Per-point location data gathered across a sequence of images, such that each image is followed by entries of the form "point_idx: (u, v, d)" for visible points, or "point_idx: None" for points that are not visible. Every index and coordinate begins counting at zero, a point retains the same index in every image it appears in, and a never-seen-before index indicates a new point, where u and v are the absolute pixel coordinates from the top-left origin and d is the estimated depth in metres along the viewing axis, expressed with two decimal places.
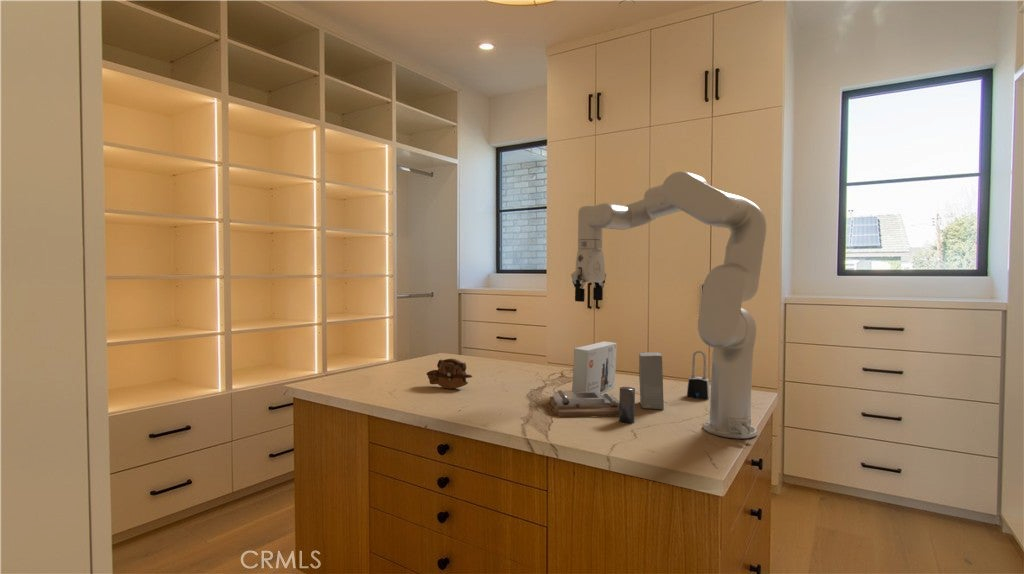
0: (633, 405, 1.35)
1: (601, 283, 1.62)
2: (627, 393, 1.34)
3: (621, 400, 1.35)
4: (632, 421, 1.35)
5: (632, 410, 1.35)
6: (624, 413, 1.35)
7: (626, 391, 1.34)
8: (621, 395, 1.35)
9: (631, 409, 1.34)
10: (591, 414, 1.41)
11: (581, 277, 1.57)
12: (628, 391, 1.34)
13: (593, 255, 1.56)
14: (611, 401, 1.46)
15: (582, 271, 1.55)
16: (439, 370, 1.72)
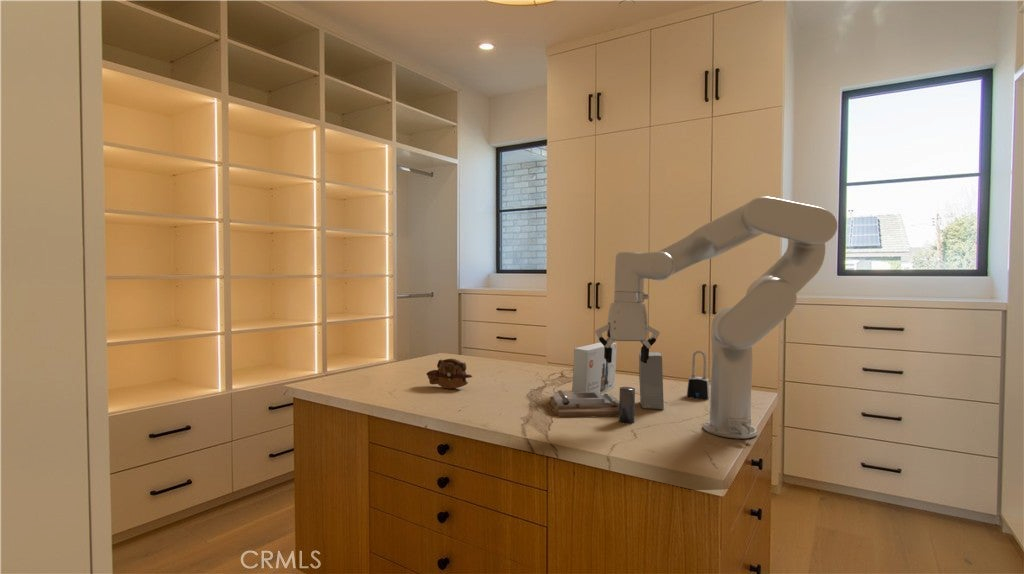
0: (633, 405, 1.35)
1: None
2: (627, 393, 1.34)
3: (621, 400, 1.35)
4: (632, 421, 1.35)
5: (632, 410, 1.35)
6: (624, 413, 1.35)
7: (626, 391, 1.34)
8: (621, 395, 1.35)
9: (631, 409, 1.34)
10: (591, 414, 1.41)
11: None
12: (628, 391, 1.34)
13: None
14: (611, 401, 1.46)
15: None
16: (439, 370, 1.72)
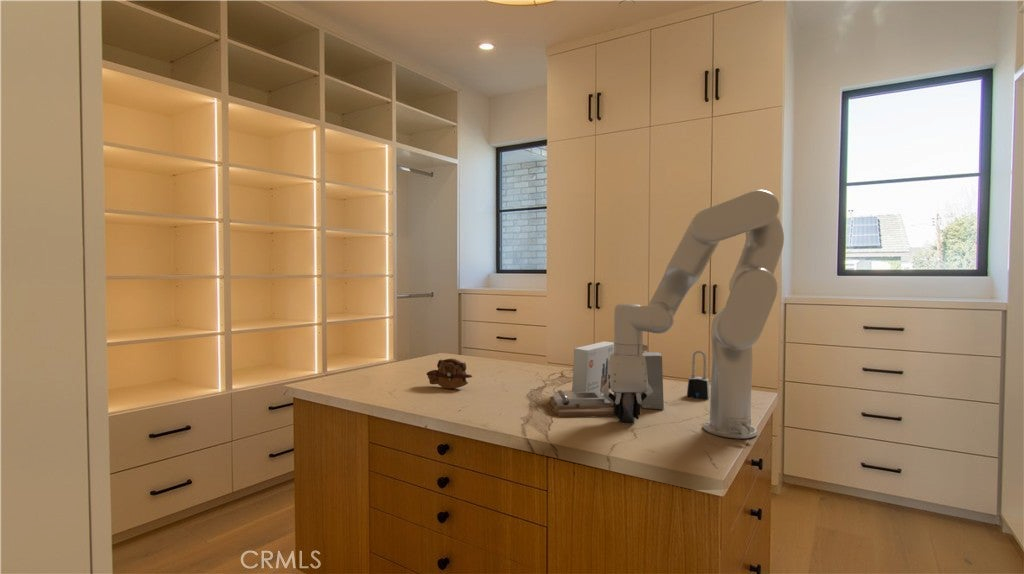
0: (633, 405, 1.35)
1: None
2: (627, 393, 1.34)
3: (621, 400, 1.35)
4: (632, 421, 1.35)
5: (632, 410, 1.35)
6: (624, 413, 1.35)
7: None
8: (621, 395, 1.35)
9: (631, 409, 1.34)
10: (591, 414, 1.41)
11: None
12: None
13: None
14: (611, 401, 1.46)
15: None
16: (439, 370, 1.72)
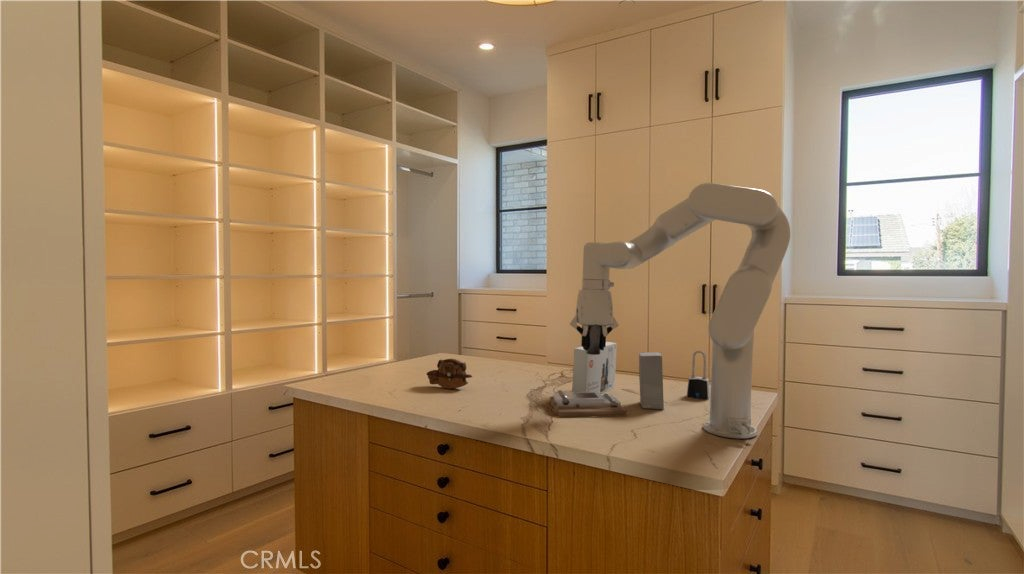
0: (599, 337, 1.44)
1: None
2: (593, 326, 1.43)
3: (588, 332, 1.44)
4: (598, 352, 1.44)
5: (598, 342, 1.44)
6: (591, 344, 1.44)
7: None
8: (588, 328, 1.44)
9: (597, 341, 1.44)
10: (591, 414, 1.41)
11: None
12: (595, 324, 1.43)
13: None
14: (611, 401, 1.46)
15: None
16: (439, 370, 1.72)
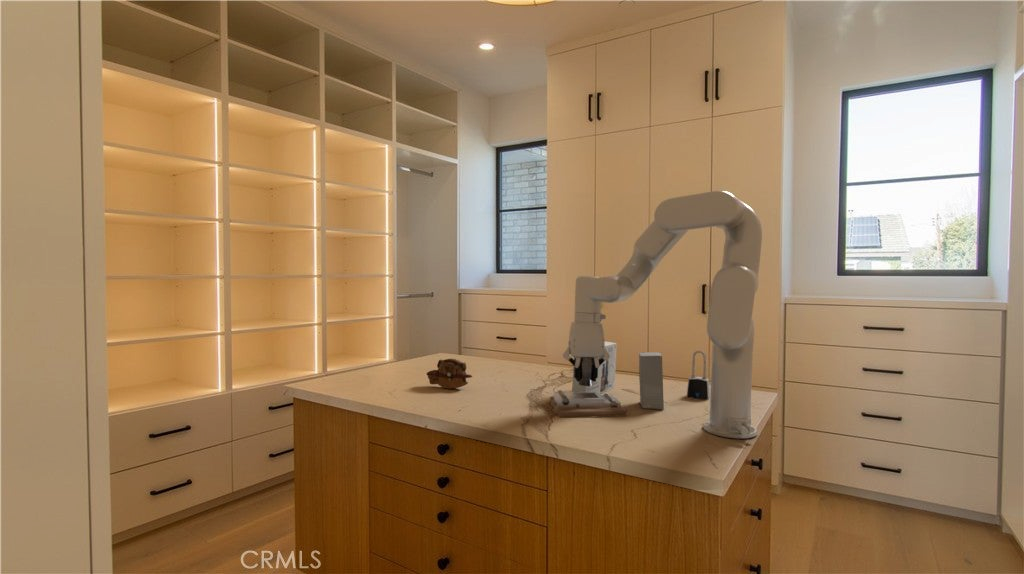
0: (591, 369, 1.47)
1: None
2: (585, 358, 1.46)
3: (580, 364, 1.47)
4: (590, 383, 1.47)
5: (590, 373, 1.47)
6: (583, 375, 1.47)
7: None
8: (580, 359, 1.47)
9: (589, 372, 1.47)
10: (591, 414, 1.41)
11: None
12: None
13: None
14: (611, 401, 1.46)
15: None
16: (439, 370, 1.72)
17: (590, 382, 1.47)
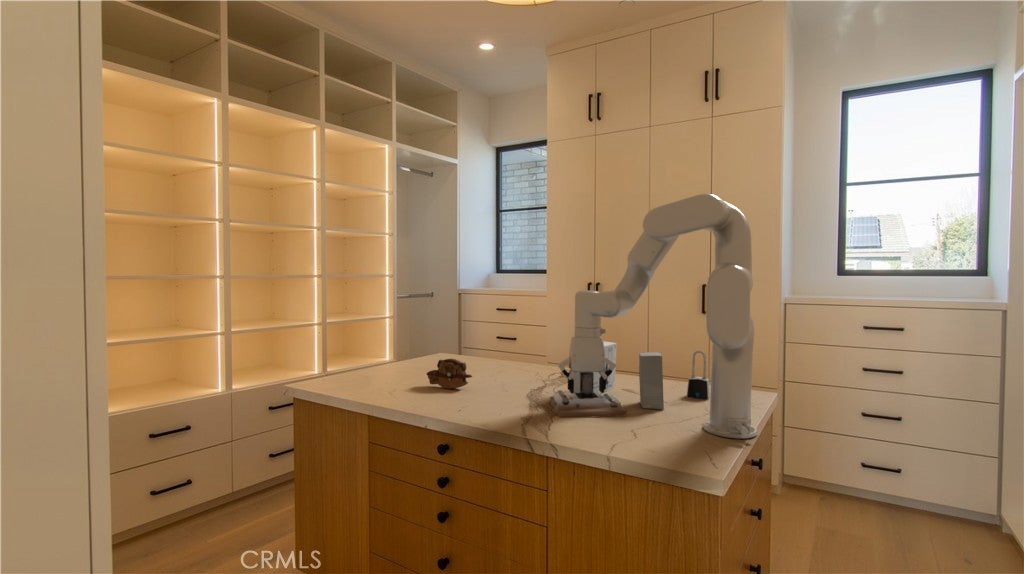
0: (591, 388, 1.47)
1: None
2: (586, 377, 1.46)
3: (581, 383, 1.47)
4: None
5: (591, 392, 1.47)
6: (583, 395, 1.47)
7: (585, 375, 1.46)
8: (581, 379, 1.47)
9: (590, 391, 1.47)
10: (591, 414, 1.41)
11: None
12: (587, 375, 1.46)
13: None
14: (611, 401, 1.46)
15: None
16: (439, 370, 1.72)
17: None
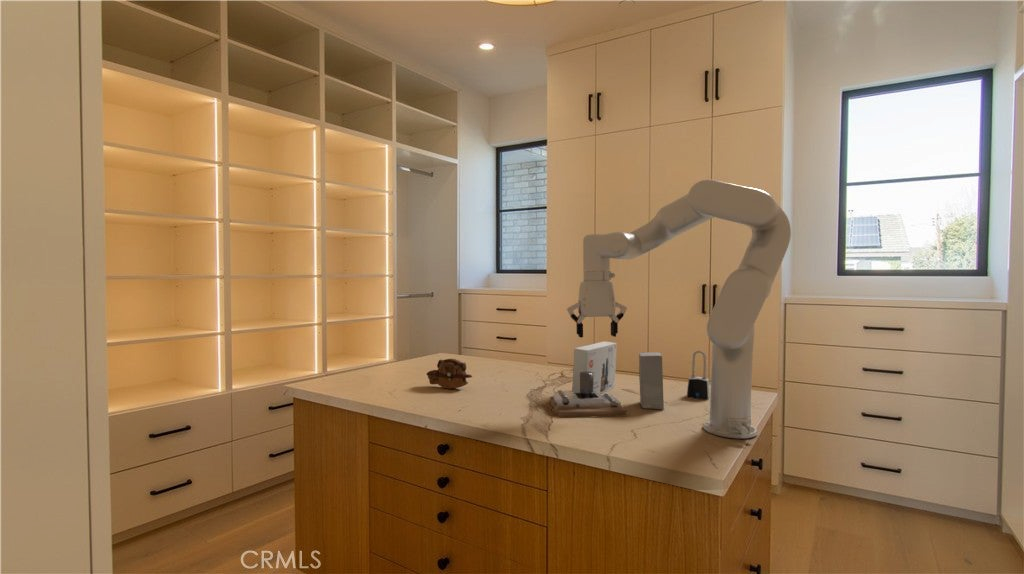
0: (591, 388, 1.47)
1: None
2: (586, 377, 1.46)
3: (581, 383, 1.47)
4: None
5: (591, 392, 1.47)
6: (583, 395, 1.47)
7: (585, 375, 1.46)
8: (581, 379, 1.47)
9: (590, 391, 1.47)
10: (591, 414, 1.41)
11: None
12: (587, 375, 1.46)
13: None
14: (611, 401, 1.46)
15: None
16: (439, 370, 1.72)
17: None
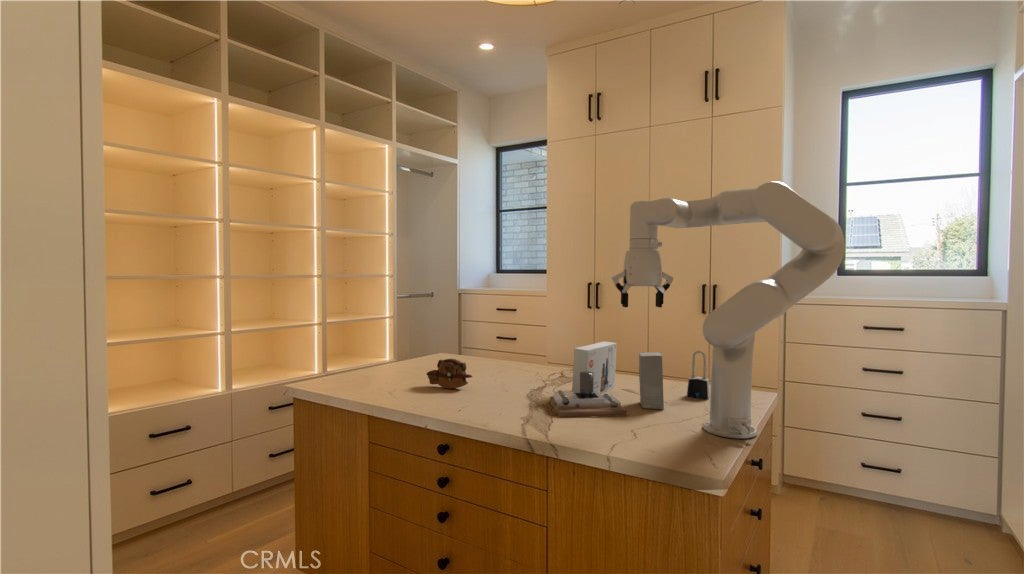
0: (591, 388, 1.47)
1: None
2: (586, 377, 1.46)
3: (581, 383, 1.47)
4: None
5: (591, 392, 1.47)
6: (583, 395, 1.47)
7: (585, 375, 1.46)
8: (581, 379, 1.47)
9: (590, 391, 1.47)
10: (591, 414, 1.41)
11: None
12: (587, 375, 1.46)
13: None
14: (611, 401, 1.46)
15: None
16: (439, 370, 1.72)
17: None
